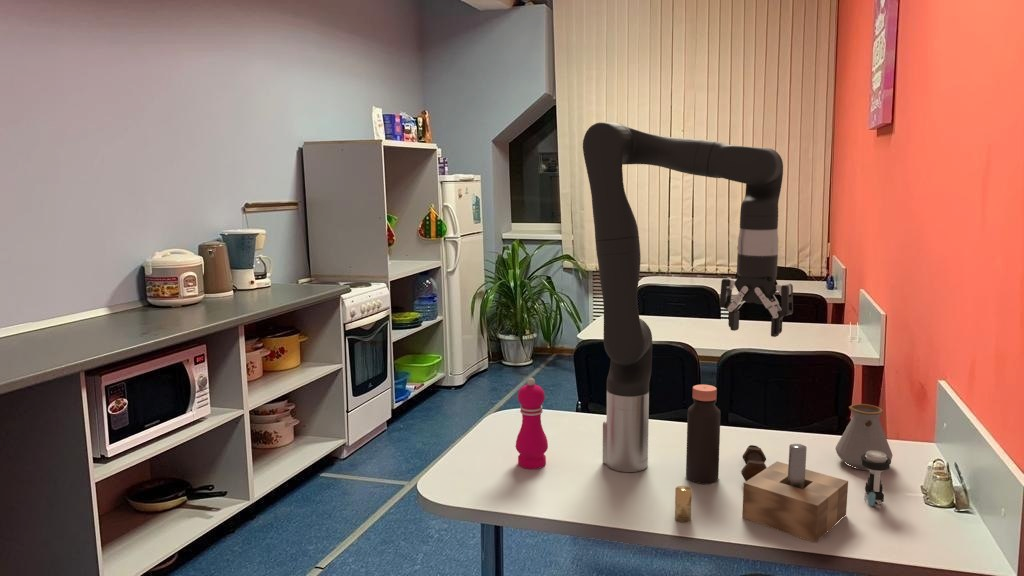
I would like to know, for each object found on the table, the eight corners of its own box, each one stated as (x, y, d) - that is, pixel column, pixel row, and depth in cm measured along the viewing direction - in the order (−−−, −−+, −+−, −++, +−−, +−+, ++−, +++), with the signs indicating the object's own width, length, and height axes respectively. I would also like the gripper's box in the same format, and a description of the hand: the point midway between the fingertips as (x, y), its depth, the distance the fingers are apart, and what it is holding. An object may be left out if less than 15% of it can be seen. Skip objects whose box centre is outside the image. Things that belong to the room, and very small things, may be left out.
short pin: (671, 519, 142) (672, 489, 141) (680, 513, 145) (681, 484, 144) (685, 524, 140) (686, 494, 139) (694, 518, 142) (694, 488, 142)
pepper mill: (531, 473, 164) (530, 384, 161) (509, 463, 170) (508, 378, 166) (554, 464, 169) (554, 378, 166) (532, 455, 174) (532, 371, 171)
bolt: (756, 467, 171) (759, 492, 156) (736, 454, 171) (737, 479, 157) (770, 446, 169) (774, 471, 155) (750, 434, 170) (752, 457, 156)
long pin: (783, 516, 143) (786, 446, 140) (790, 511, 145) (793, 442, 142) (798, 522, 141) (802, 451, 138) (805, 516, 143) (809, 446, 140)
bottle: (724, 477, 161) (727, 387, 158) (708, 487, 156) (711, 394, 153) (695, 468, 165) (698, 381, 162) (679, 478, 160) (682, 388, 157)
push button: (894, 511, 144) (897, 462, 142) (864, 510, 145) (867, 461, 143) (883, 496, 151) (886, 449, 149) (854, 495, 151) (858, 448, 150)
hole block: (742, 517, 143) (743, 482, 141) (775, 494, 152) (777, 461, 151) (815, 542, 133) (817, 505, 132) (846, 515, 143) (848, 481, 142)
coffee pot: (835, 451, 174) (838, 388, 172) (890, 458, 170) (894, 394, 167) (833, 487, 155) (837, 418, 153) (895, 496, 151) (901, 425, 148)
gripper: (801, 252, 144) (797, 335, 147) (733, 247, 154) (730, 324, 157) (784, 256, 139) (780, 342, 141) (714, 250, 149) (712, 331, 151)
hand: (754, 332), depth 149 cm, fingers open, 8 cm apart
